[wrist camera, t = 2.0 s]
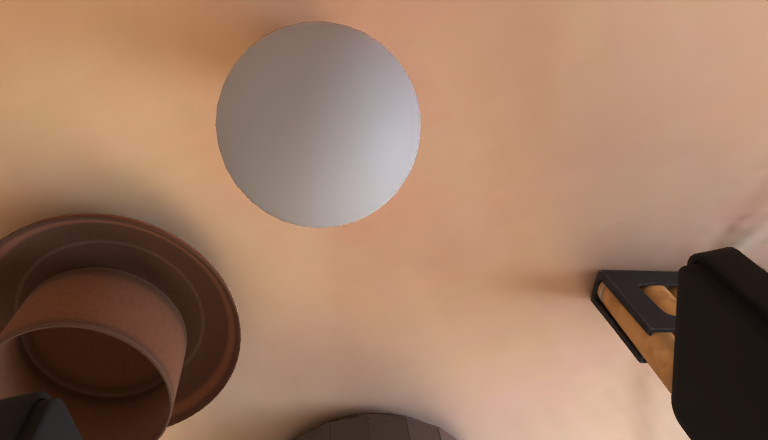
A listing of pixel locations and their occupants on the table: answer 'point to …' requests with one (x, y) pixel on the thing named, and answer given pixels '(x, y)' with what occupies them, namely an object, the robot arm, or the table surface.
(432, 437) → the bowl
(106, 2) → the table surface
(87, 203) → the table surface
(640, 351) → the ammunition clip
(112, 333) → the cup and saucer
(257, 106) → the lightbulb
